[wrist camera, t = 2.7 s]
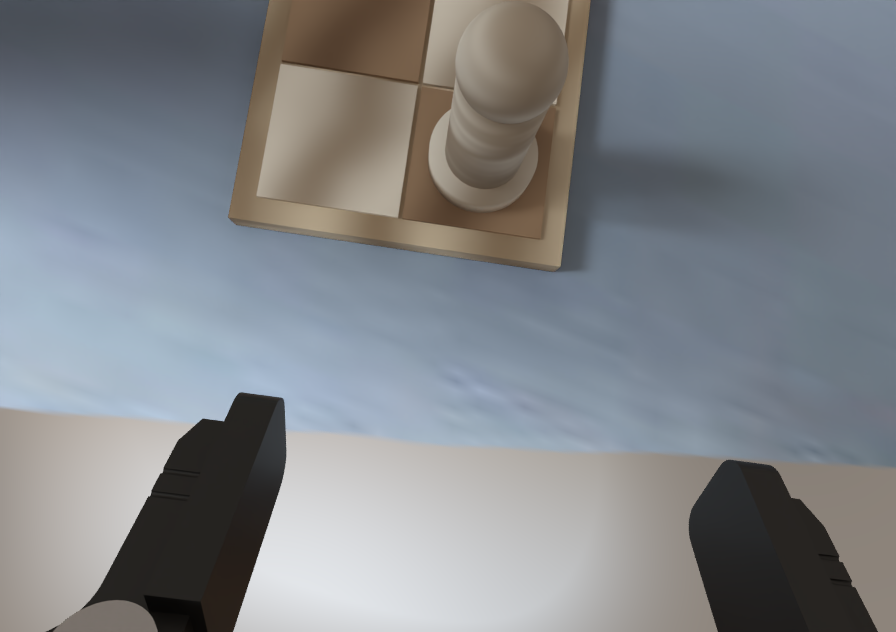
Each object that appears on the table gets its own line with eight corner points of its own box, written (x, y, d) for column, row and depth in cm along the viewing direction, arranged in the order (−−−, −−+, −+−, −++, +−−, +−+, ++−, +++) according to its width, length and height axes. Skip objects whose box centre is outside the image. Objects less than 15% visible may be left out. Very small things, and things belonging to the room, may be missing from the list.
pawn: (421, 204, 27) (428, 94, 17) (436, 104, 27) (451, -58, 17) (526, 220, 27) (594, 121, 17) (538, 120, 28) (610, -30, 18)
